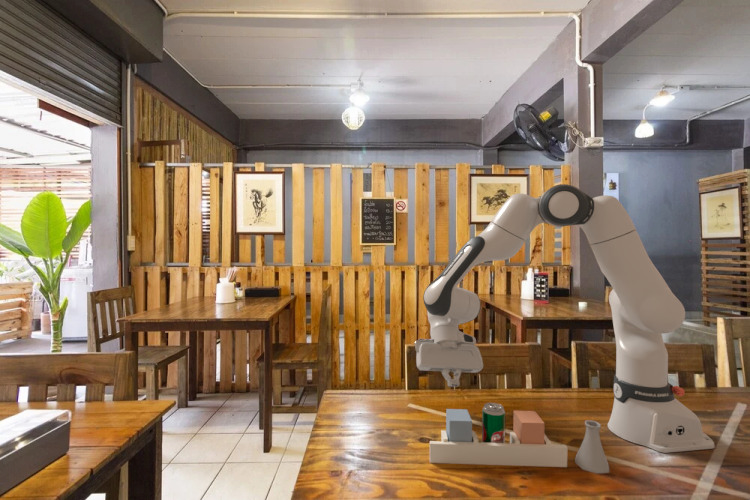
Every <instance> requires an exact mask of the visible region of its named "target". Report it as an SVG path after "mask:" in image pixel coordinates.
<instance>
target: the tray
mask: <svg viewBox="0 0 750 500" xmlns="http://www.w3.org/2000/svg"><path fill="white" fill-rule="evenodd" d="M440 435H441V437H440V439H441V440H440V441H439V440H429V463H430V464H451V465H452V464H453V465H454V464H457V465H458V464H459V465H460V464H461V465H485V466H488V465H489V466H515V467H516V466H517V467H518V466H521V467H524V466H525V467H547V468H548V467H553V468H568V447H567V445H566V444H552V441H551V440H550V439H549V437H547V435H546V433H544V444H520V441H519V439H518V437H517V436H516V434H515V432H513V431H510V432H509V443H508V442H505V443H484V442H482V441H479V438H478V436H477V434H476V431H475V430H472V442H449V441H448V438H447V434H446V429H445V430H444V429H443V430H442V429H441V431H440Z"/></svg>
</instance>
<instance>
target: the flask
mask: <svg viewBox="0 0 750 500" xmlns="http://www.w3.org/2000/svg"><path fill="white" fill-rule="evenodd" d="M584 426H585V434H584V437H583V440H582V442H581V444H580V447H579V449H578V451H577V453H576V455H575V459H574V463H575V464H576V465H577V466H578V467H579V468H581V470H582V471H586V472H590V473H594V474H597V475H598V474H609V473H610V464H609V462H608V459H607V456H606V453H605V451H604V448H603V445H602V441H601V436H600V430H601V428H602V427H601V426H602V423H599V422H598V421H596V420H589V419H587V420H585V421H584Z"/></svg>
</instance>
